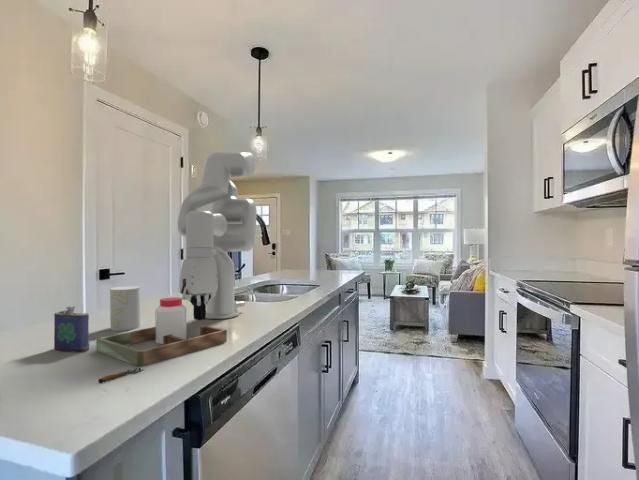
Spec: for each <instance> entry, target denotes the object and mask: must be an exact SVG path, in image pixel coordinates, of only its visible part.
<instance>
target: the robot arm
mask: <svg viewBox="0 0 639 480" xmlns="http://www.w3.org/2000/svg"><path fill="white" fill-rule="evenodd" d="M255 170H256V159H255V157H254V155H253V154H252V153H251V152H243V151H217V152H213V153H211V154H209V155H208V156H207V158H206V161H205V167H204V171H203V176H202V180H201V185H199V186H198V187H196V188H195V189H194V190H193V191H191V193H189V194H188V195H187V196H186V197H185V198H184V199H183V201H182V203H181V205H180V209H179V214H178V219H177V230H178V233H179V234H180V235H181V236H182V237H185V259H183V260H182V263H181V269H180V278H179V293H180V294H181V295H182V296H181V297H182V301H183V300H185V301H189V303H191V305H192V306H193V320H196V321H203V320H206V319H207V320H209V319H210V320H221V319H222V320H223V319H231V318H235V317H238V316H239V315H240V311H239V310H238V308H242V307H245V305H246V304H245V301H243V300H240V301H237V300H235V264H234V260H232V257H230V255H229V254H228V253H229V252H230V253H231V252H234V253H235V252H249V251H251V250H253V248H254V245H255V242H256V241H255V240H256V230H257V229H256V227H257V217H258V216H257V214H258V213H257V212H258V210H257V205H256V203H255V201H254V200H253V199H250V198H247V197H246V198H238V197H239V190H238V188H237V186H236V184H234V183H233V182H232V180H230V178H248V177H251V176H253V175H254V173H255ZM210 204H212V205H211V211H209V210H208V211H207V210H199V209H201V208H202V207H204V206H208V205H210Z"/></svg>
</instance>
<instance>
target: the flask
mask: <svg viewBox="0 0 639 480" xmlns="http://www.w3.org/2000/svg"><path fill="white" fill-rule="evenodd" d="M75 308H76V306H74V305H73V306H65V309H67V310H62V311H61V310H60V311H58V312H55V313H54V315H53V316H54V321H53V322H54V324H53V325H54V328H53V329H54V334H53V335H54V339H53V340H54V343H53V344H54V346H53V350H54V351H58V352H76V353H80V352H81V353H82V352H88V350H89V349H90V341H89V340H90V334H89V333H90V332H89V318H90V316H89V313H87V312H86V313H85V312H84V313H79V312H78V313H77V312H75Z"/></svg>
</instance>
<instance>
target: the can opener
mask: <svg viewBox="0 0 639 480" xmlns="http://www.w3.org/2000/svg"><path fill="white" fill-rule="evenodd" d="M137 370H138V371H137ZM144 371H145V368H144V369H141V367H140V366H137V367H136V368H134V369H127V370H124V371H121V372H118V373H115V374H109V375H105V376H103V377H100V378H99V379H98V383H99V384H104V383H107V382H110V381H112V380H116V379H118V378H123V377H124V376H127V375H136V374H138V373H142V372H144ZM106 381H107V382H106ZM103 382H104V383H103Z"/></svg>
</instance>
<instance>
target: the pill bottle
mask: <svg viewBox="0 0 639 480" xmlns="http://www.w3.org/2000/svg"><path fill="white" fill-rule="evenodd" d="M154 314H155V317H154V318H155V322H154V323H155V326H154V327H155V334H156V338H155V343H156V344H160V345H163V336H165V335H170V334H171V335H172V336H175V337H179V338H183V339H188V338H187V337H188V336H187V335H188V334H187V331H188V330H187V307H186V306H185V305H184V304H183V299H182V298H181V297H173V296H172V297H164V298H160V299H159V305H158V306H157V308H155V313H154Z"/></svg>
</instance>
